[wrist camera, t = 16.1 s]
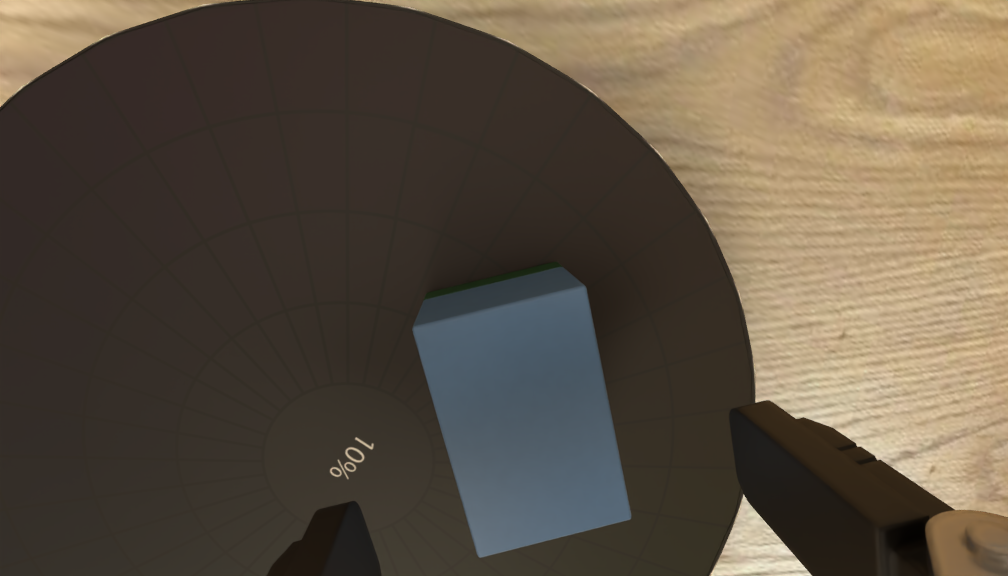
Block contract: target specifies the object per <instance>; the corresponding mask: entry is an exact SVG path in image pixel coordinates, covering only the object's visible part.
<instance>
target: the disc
mask: <svg viewBox="0 0 1008 576" xmlns="http://www.w3.org/2000/svg"><path fill="white" fill-rule="evenodd" d="M552 262H558V263H559V264H561V265H562V266H563V268H565V269H566V270H567V271H568V272H569V273H571V274H572V275H573V276H574V277H575V278H577V279H578V280H579V281H580V282H581V283H583V284H584V285H585V286H586V289H587V294H588V299H589V304H590V309H591V314H592V319H593V324H594V329H595V334H596V339H597V344H598V349H599V354H600V360H601V365H602V370H603V375H604V380H605V385H606V390H607V395H608V400H609V405H610V410H611V415H612V420H613V425H614V430H615V436H616V441H617V446H618V451H619V456H620V461H621V466H622V471H623V476H624V481H625V486H626V491H627V496H628V501H629V506H630V511H631V519H630V520H626V521H622V522H618V523H615V524H611V525H607V526H603V527H599V528H595V529H591V530H587V531H583V532H579V533H575V534H571V535H567V536H564V537H560V538H556V539H552V540H548V541H544V542H540V543H536V544H532V545H528V546H524V547H520V548H517V549H513V550H509V551H505V552H501V553H497V554H493V555H489V556H485V557H481V558H480V557H478V555H477V552H476V549H475V546H474V542H473V539H472V535H471V532H470V528H469V525H468V521H467V518H466V514H465V511H464V508H463V504H462V501H461V497H460V494H459V490H458V487H457V483H456V480H455V476H454V473H453V469H452V466H451V463H450V459H449V456H448V452H447V449H446V445H445V442H444V438H443V435H442V431H441V428H440V424H439V421H438V418H437V414H436V411H435V407H434V404H433V400H432V397H431V393H430V390H429V386H428V383H427V379H426V376H425V373H424V369H423V366H422V362H421V359H420V355H419V352H418V348H417V345H416V341H415V338H414V335H413V331H412V328H413V325H414V323H415V320H416V318H417V315H418V313H419V311H420V308H421V306H422V303H423V300H424V297H425V295H426V293H428V292H432V291H436V290H440V289H444V288H448V287H452V286H457V285H461V284H465V283H469V282H473V281H477V280H481V279H485V278H490V277H494V276H498V275H502V274H506V273H510V272H514V271H518V270H523V269H527V268H531V267H535V266H539V265H543V264H547V263H552ZM755 373H756V370H755V365H754V360H753V355H752V350H751V345H750V340H749V335H748V330H747V325H746V320H745V315H744V310H743V305H742V301H741V296H740V293H739V291H738V289H737V286H736V284H735V282H734V279H733V277H732V275H731V273H730V270H729V268H728V266H727V263H726V261H725V259H724V256H723V254H722V252H721V250H720V247H719V245H718V243H717V240H716V238H715V236H714V233H713V231H712V229H711V227H710V224H709V222H708V220H707V219H706V218H705V216H704V215H703V213H702V212H701V211H700V209H699V208H698V206H697V205H696V204H695V202H694V201H693V199H692V198H691V197H690V195H689V194H688V192H687V191H686V190H685V188H684V187H683V185H682V184H681V183H680V181H679V180H678V178H677V177H676V176H675V174H674V173H673V171H672V170H671V169H670V167H669V166H668V164H667V163H666V162H665V160H664V159H663V157H662V156H661V155H660V153H659V152H658V151H657V150H656V149H655V148H654V147H653V146H652V145H651V144H650V143H648V142H647V141H646V140H645V139H644V138H643V137H642V136H641V135H640V134H639V133H638V132H636V131H635V130H634V129H633V128H632V127H631V126H630V125H629V124H628V123H627V122H626V121H624V120H623V119H622V118H621V117H620V116H619V115H618V114H617V113H616V112H615V111H614V110H612V109H611V108H610V107H609V106H608V105H607V104H606V103H605V102H604V101H603V100H601V99H600V98H599V97H598V96H597V95H596V94H595V93H594V92H593V91H592V90H591V89H589V88H587V87H586V86H584V85H582V84H580V83H579V82H577V81H575V80H574V79H572V78H570V77H569V76H567V75H565V74H564V73H562V72H560V71H559V70H557V69H555V68H553V67H552V66H550V65H548V64H547V63H545V62H543V61H542V60H540V59H538V58H537V57H535V56H533V55H531V54H530V53H528V52H526V51H525V50H523V49H521V48H520V47H518V46H516V45H515V44H513V43H511V42H510V41H508V40H506V39H503V38H500V37H497V36H494V35H491V34H488V33H485V32H482V31H479V30H476V29H473V28H470V27H467V26H464V25H462V24H459V23H456V22H453V21H450V20H447V19H444V18H441V17H438V16H435V15H432V14H429V13H426V12H423V11H420V10H418V9H415V8H412V7H405V6H396V5H388V4H380V3H372V2H363V1H355V0H245V1H234V2H223V3H212V4H203V5H200V6H197V7H194V8H191V9H188V10H185V11H181V12H178V13H175V14H172V15H169V16H166V17H163V18H160V19H157V20H154V21H150V22H147V23H144V24H141V25H138V26H135V27H132V28H129V29H126V30H122V31H119V32H116V33H113V34H110V35H107V36H105V37H103V38H101V39H100V40H98V41H96V42H95V43H93V44H91V45H90V46H88V47H87V48H85V49H83V50H82V51H80V52H78V53H77V54H75V55H73V56H72V57H70V58H68V59H67V60H65V61H63V62H62V63H60V64H58V65H57V66H55V67H53V68H52V69H50V70H48V71H47V72H45V73H43V74H42V75H40V76H38V77H37V78H35V79H33V80H32V81H30V82H28V83H27V84H25V85H24V86H22V87H20V88H19V89H18V90H17V91H16V92H15V93H14V94H13V95H12V96H11V97H10V98H9V99H8V100H7V101H6V102H5V103H4V104H3V105H2V106H1V107H0V576H267V574H268V572H269V570H270V568H271V566H272V565H273V564H274V562H275V561H276V560H277V559H278V558H279V557H280V556H281V555H282V554H283V553H284V552H285V551H286V549H287V548H288V547H289V546H290V545H291V544H292V543H293V542H296V541H300V540H302V538H303V536H304V534H305V532H306V530H307V528H308V525H309V523H310V521H311V519H312V517H313V515H314V514H315V512H316V511H317V510H318V509H322V508H326V507H330V506H334V505H338V504H342V503H346V502H350V501H356V502H357V503H358V504H359V506H360V508H361V511H362V514H363V516H364V519H365V522H366V525H367V528H368V531H369V534H370V537H371V539H372V542H373V545H374V548H375V551H376V554H377V557H378V560H379V563H380V568H381V576H711V575H712V573H713V571H714V569H715V566H716V564H717V562H718V560H719V557H720V555H721V553H722V550H723V548H724V546H725V544H726V541H727V539H728V537H729V534H730V532H731V530H732V528H733V525H734V523H735V521H736V518H737V516H738V514H739V512H740V508H741V503H742V499H743V494H744V493H743V491H742V489H741V486H740V484H739V481H738V477H737V473H736V466H735V459H734V452H733V444H732V437H731V430H730V422H729V413H730V410H731V409H733V408H737V407H741V406H745V405H749V404H753V403H755Z"/></svg>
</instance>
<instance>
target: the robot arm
mask: <svg viewBox="0 0 1008 576" xmlns="http://www.w3.org/2000/svg"><path fill="white" fill-rule="evenodd" d="M729 422H730V430H731V437H732V444H733V452H734V459H735V466H736V473H737V477H738V481H739V484H740V486H741V489H742V491H743V493H744V495H745V497H746V498H747V500H748V502H749V503H750V504H751V506H752V507H753V508H754V509H755V510H756V511H757V513H758V514H759V515H760V516H761V517H762V518H763V519H764V521H765V522H766V523H767V524H768V525H769V526H770V528H771V529H772V530H773V531H774V532H775V533H776V534H777V536H778V537H779V538H780V539H781V540H782V541H783V542H784V544H785V545H786V546H787V547H788V548H789V549H790V550H791V552H792V553H793V554H794V555H795V556H796V557H797V559H798V560H799V561H800V562H801V563H802V564H803V565H804V567H805V568H806V569H807V570H808V571H809V572H810V573H811V575H812V576H1008V517H1004V516H1001V515H997V514H992V513H987V512H982V511H973V510H954V509H953V508H951V507H950V506H948V505H947V504H945V503H944V502H942V501H941V500H939V499H938V498H936V497H935V496H933V495H932V494H930V493H929V492H927V491H926V490H924V489H923V488H921V487H920V486H918V485H917V484H916V483H914V482H913V481H911V480H910V479H908V478H907V477H905V476H904V475H902V474H901V473H899V472H898V471H896V470H895V469H893V468H892V467H890V466H889V465H887V464H886V463H884V462H883V461H881V460H878V461H877V459H876V458H875V456H874V455H872V454H871V453H869V452H868V451H866V450H865V449H863V448H862V447H857V446H856V443H854V442H853V441H851V440H850V439H848V438H847V437H845V436H844V435H842V434H841V433H839V432H838V431H836V430H835V429H833V428H831V427H829V426H826V425H823V424H820V423H817V422H815V421H812V420H809V419H806V418H800V419H795V418H794V417H792V416H791V415H790V414H788V413H787V412H785V411H784V410H783V409H781V408H780V407H778V406H777V405H776V404H774V403H773V402H771V401H768V400H766V401H761V402H757V403H753V404H749V405H745V406H741V407H737V408H733V409H731V410H730V413H729ZM267 576H381V568H380V563H379V560H378V557H377V554H376V551H375V548H374V545H373V542H372V539H371V537H370V534H369V531H368V528H367V525H366V522H365V519H364V516H363V514H362V511H361V508H360V506H359V504H358V503H357V502H356V501H350V502H346V503H342V504H338V505H334V506H330V507H326V508H322V509H318V510H317V511H316V512H315V514H314V515H313V517H312V519H311V521H310V523H309V525H308V528H307V530H306V532H305V534H304V536H303V538H302V540H300V541H296V542H293V543H292V544H291V545H290V546H289V547H288V548H287V549H286V551H285V552H284V553H283V554H282V555H281V556H280V557H279V558H278V559H277V560H276V561H275V562H274V564H273V565H272V566H271V568H270V570H269V572H268V574H267Z"/></svg>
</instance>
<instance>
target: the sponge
mask: <svg viewBox="0 0 1008 576" xmlns="http://www.w3.org/2000/svg"><path fill="white" fill-rule="evenodd" d="M412 331H413V335H414V338H415V341H416V345H417V348H418V352H419V355H420V359H421V362H422V366H423V369H424V373H425V376H426V379H427V383H428V386H429V390H430V393H431V397H432V400H433V404H434V407H435V411H436V414H437V418H438V421H439V424H440V428H441V431H442V435H443V438H444V442H445V445H446V449H447V452H448V456H449V459H450V463H451V466H452V469H453V473H454V476H455V480H456V483H457V487H458V490H459V494H460V497H461V501H462V504H463V508H464V511H465V514H466V518H467V521H468V525H469V528H470V532H471V535H472V539H473V542H474V546H475V549H476V552H477V555H478V557H480V558H481V557H485V556H489V555H493V554H497V553H501V552H505V551H509V550H513V549H517V548H520V547H524V546H528V545H532V544H536V543H540V542H544V541H548V540H552V539H556V538H560V537H564V536H567V535H571V534H575V533H579V532H583V531H587V530H591V529H595V528H599V527H603V526H607V525H611V524H615V523H618V522H622V521H626V520H630V519H631V511H630V506H629V501H628V496H627V491H626V486H625V481H624V476H623V471H622V466H621V461H620V456H619V451H618V446H617V441H616V436H615V430H614V425H613V420H612V415H611V410H610V405H609V400H608V395H607V390H606V385H605V380H604V375H603V370H602V365H601V360H600V354H599V349H598V344H597V339H596V334H595V329H594V324H593V319H592V314H591V309H590V304H589V299H588V294H587V289H586V286H585V285H584V284H583V283H581V282H580V281H579V280H578V279H577V278H575V277H574V276H573V275H572V274H571V273H569V272H568V271H567V270H566V269H565V268H563V266H562V265H561V264H559V263H558V262H552V263H547V264H543V265H539V266H535V267H531V268H527V269H523V270H518V271H514V272H510V273H506V274H502V275H498V276H494V277H490V278H485V279H481V280H477V281H473V282H469V283H465V284H461V285H457V286H452V287H448V288H444V289H440V290H436V291H432V292H428V293H426V295H425V297H424V300H423V303H422V306H421V308H420V311H419V313H418V315H417V318H416V320H415V323H414V325H413V328H412Z"/></svg>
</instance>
